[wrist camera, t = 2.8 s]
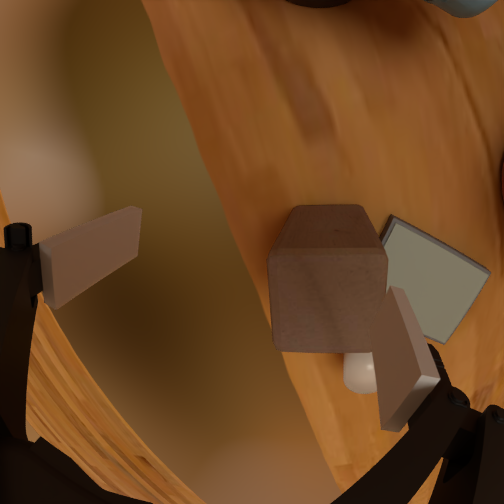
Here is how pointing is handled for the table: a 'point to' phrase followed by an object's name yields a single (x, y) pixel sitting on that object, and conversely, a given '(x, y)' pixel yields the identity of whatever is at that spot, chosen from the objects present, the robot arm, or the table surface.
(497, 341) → the table surface
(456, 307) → the grey rectangular slab
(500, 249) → the table surface
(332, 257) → the wooden block
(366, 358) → the white rounded cylinder
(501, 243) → the table surface
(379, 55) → the table surface
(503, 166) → the planter
